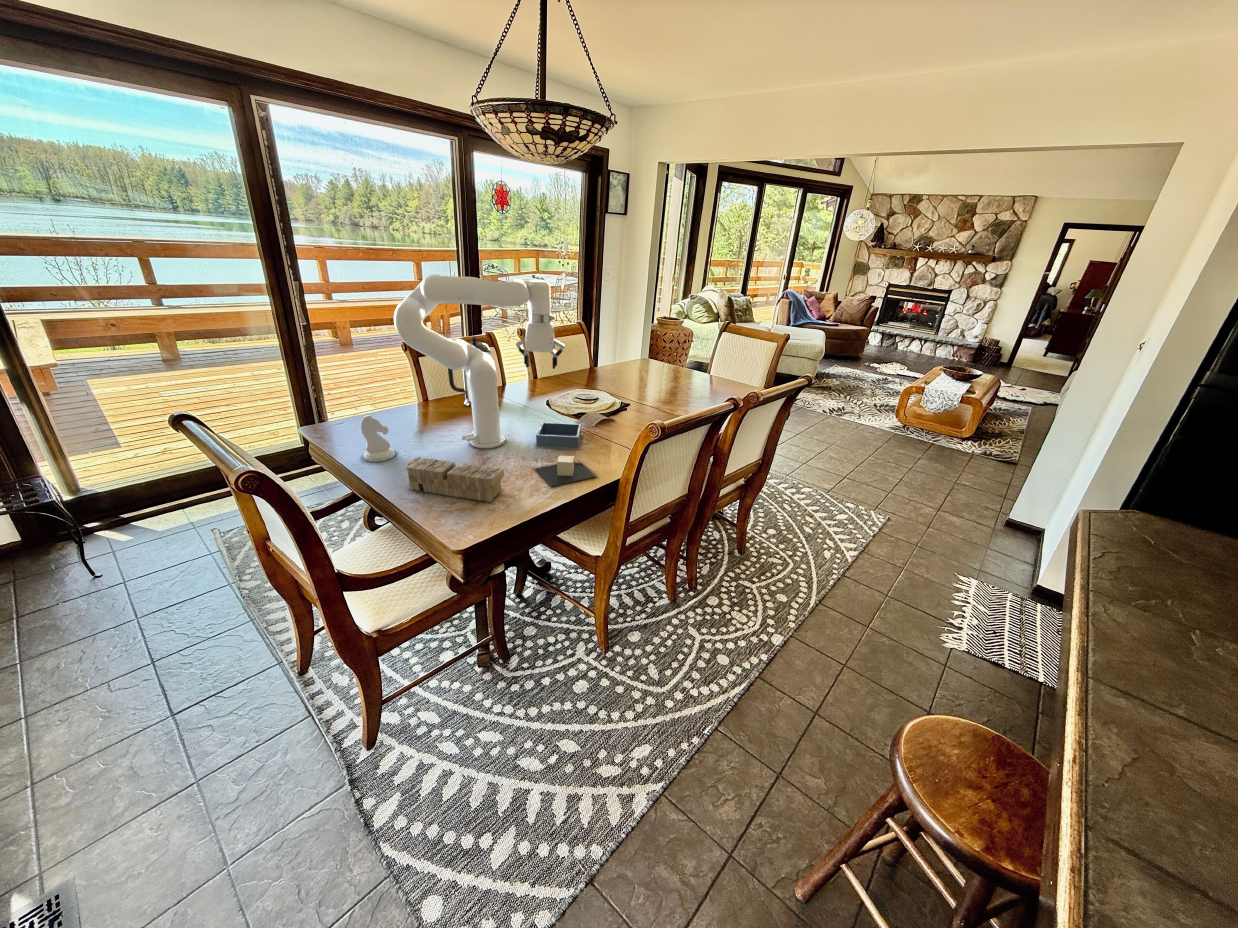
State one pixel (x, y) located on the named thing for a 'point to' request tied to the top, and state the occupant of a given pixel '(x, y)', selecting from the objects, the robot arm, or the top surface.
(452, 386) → the coffee press
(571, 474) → the block
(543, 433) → the bin
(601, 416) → the grey curved sheet
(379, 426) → the chess piece
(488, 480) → the block tower
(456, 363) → the robot arm
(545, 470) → the mat
